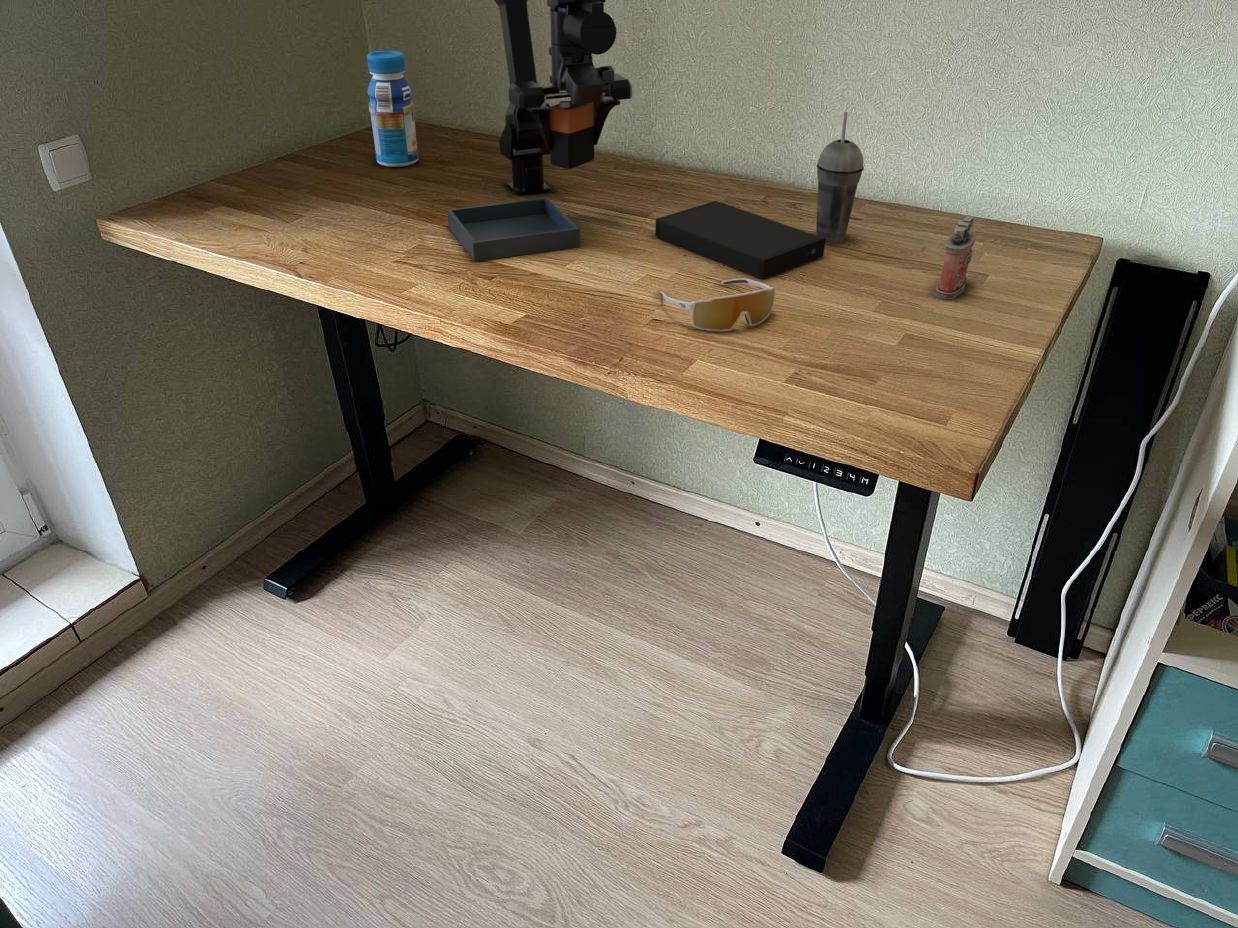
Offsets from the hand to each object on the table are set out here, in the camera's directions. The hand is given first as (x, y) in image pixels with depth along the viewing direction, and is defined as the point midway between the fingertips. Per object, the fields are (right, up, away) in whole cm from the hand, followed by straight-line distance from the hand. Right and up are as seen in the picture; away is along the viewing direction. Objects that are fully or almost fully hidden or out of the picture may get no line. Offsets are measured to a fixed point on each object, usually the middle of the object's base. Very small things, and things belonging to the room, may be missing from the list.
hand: (571, 147), depth 154 cm
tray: (-10, -14, +1) cm, 17 cm away
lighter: (+56, -26, -15) cm, 63 cm away
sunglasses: (+21, -30, -22) cm, 42 cm away
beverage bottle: (-36, +9, +35) cm, 51 cm away
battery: (0, -2, +1) cm, 3 cm away
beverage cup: (+42, -14, +2) cm, 44 cm away
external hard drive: (+26, -17, -2) cm, 31 cm away
